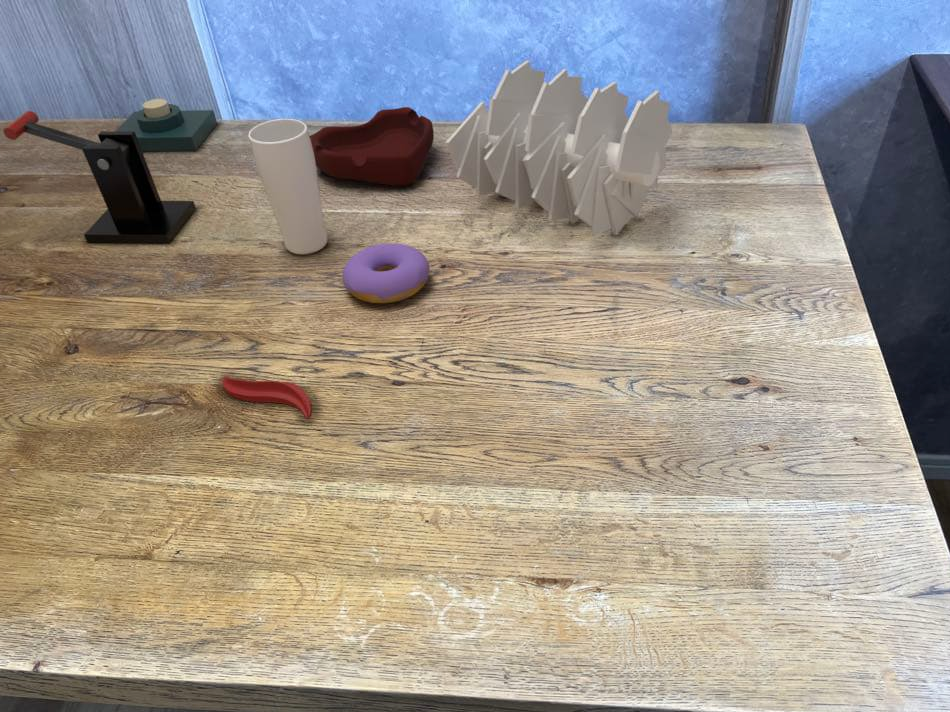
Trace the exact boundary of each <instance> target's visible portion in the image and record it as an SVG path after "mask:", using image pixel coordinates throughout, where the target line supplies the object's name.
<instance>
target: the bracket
mask: <svg viewBox="0 0 950 712" xmlns="http://www.w3.org/2000/svg"><path fill="white" fill-rule="evenodd" d="M97 137H98V139H99V143H102V142H103V141H104V140H105V139H106V138H108V139H111V140H115V141H118V142H121V143H124V144H128V145H129V155H130V162H129V163H128V164H127V162H126V159H125V157H124V154H123V152H122V149H121V147H120V146H85V147H84V148H83V149H82V150H81V151H82V152H83V155H84V157H85V159H86V162H87V164H88V167H89V168H90V171H91V173H92V175H93V178H94V180H95V182H96V186H97V187H98V190H99V191H100V193H101V197H102V199H103V201H104V203H105V206H106V208H107V209H106V210H105V211H104V212H103V213H102V214H101V215H100V217H99V218H98V219H97V220H96V221H95V222H94V223H93V224H92V225H91V226H90V227H89V229H87V230H86V232H84V234H83V236H84V238H85V240H86V243H89V244H91V243H92V244H93V243H95V244H170V243H171V242H172V241H173V239H174V238H175V237H176V235H177V234H178V233H179V232H180V231H181V229H182V228H183V227H184V225H185V224H186V222H188V220H189V219H190V217H191V216H192V215H193V214H194V212H195V211H196V210H197V207H196V204H195V202H194V200H162V199H161V196H160V194H159V192H158V190H157V189H158V188H157V186H156V184H155V181H154V178H153V176H152V173H151V171H150V168H149V166H148V165H149V164H148V162H147V160H146V157H145V154H144V151H142V149H141V147H140V144H139V142H138V139H137V136H136V134H135V131H116V130H114V131H108V130H106V131H100V132H99V133H97Z"/></svg>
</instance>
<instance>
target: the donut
mask: <svg viewBox="0 0 950 712" xmlns="http://www.w3.org/2000/svg"><path fill="white" fill-rule="evenodd" d="M429 274H430V263H429V261H428V259H427V257H426V256H425V255H424V254H423V253H422V252H421V251H420V250H418V249H417V248H414V247H413V246H410V245H407V244H403V243H391V242H389V243H379V244H375V245H372V246H369V247H366V248H363V249H361V250H359V251H358V252H356V253H355V254H353V255H352V256H351V257H350V258H349V259H348V260H347V262H346V264H345V265H344V267H343V270H342V283H343V286H344V287H345V289H346V290H347V291H348V292H349V293H350V294H351V295H352V296H353V297H355V298H357V299H358V300H360V301H363V302H367V303H371V304H389V303H395V302H396V303H397V302H399V301H403V300H405V299H408V298H410V297H412V296H413V295H415V294H416V293H418V292H419V291H420V290H421V289H422V288H423V287H424V286H425V285H426V283H427V282H428V280H429Z"/></svg>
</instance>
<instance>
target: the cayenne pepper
mask: <svg viewBox="0 0 950 712" xmlns="http://www.w3.org/2000/svg"><path fill="white" fill-rule="evenodd" d="M221 382H222V387H223V390H224V391H225V393H226V394H228V395H230V396H231V397H232V398H235V399H237V400H240V401H247V402H254V403H277V404H284V405H290V406H292V407H295V408H297V409H298V410H299V411H300V412H301V413H302V414H303V416H304V417H305V418H306V419H307V420H309V418H310V417H311V415H312V405H311V401H310V398H309V396H308V394H307V393H306V392H305V390H304V389H303V388H301V386H299V385H297V384H295V383H292V382H286V381H285V382H284V381H283V382H282V381H276V380H259V381H253V380H246V379H239V378H232V377H229V376H227V375H226V376H225V375H224V376H223V378H222V381H221Z"/></svg>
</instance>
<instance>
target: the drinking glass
mask: <svg viewBox="0 0 950 712" xmlns="http://www.w3.org/2000/svg"><path fill="white" fill-rule="evenodd" d="M247 137H248V141H249V146H250V150H251V154H252V158H253V161H254V165H255V167H256V171H257V174H258V176H259V179H260V182H261V184H262V187H263V189H264V192H265V195H266V197H267V200H268V202H269V204H270V208H271V211H272V213H273V216H274V219H275V221H276V223H277V226H278V228H279V229H278V230H279V231H280V234H281V238H282V241H283V244H284V247H285V249H286V250H287V251H288V252H290V253H292V254H295V255H310V254H313V253H317V252H318V251H320V250H322V249H323V248H325V246H326V245H327V243H328V239H329V238H328V232H327V229H326V223H325V217H324V209H323V203H322V197H321V189H320V182H319V176H318V174H319V173H318V169H317V168H318V167H317V166H316V161H315V155H314V151H313V147H312V143H311V139H310V132H309V128H308V125H307V124H306V122H303V121H302V120H298V119H293V118H278V119H271V120H267V121H264V122H261V123H259V124H256V125H255V126H254V127H252V128H251V129H250V130H249V132H248V135H247Z"/></svg>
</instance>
